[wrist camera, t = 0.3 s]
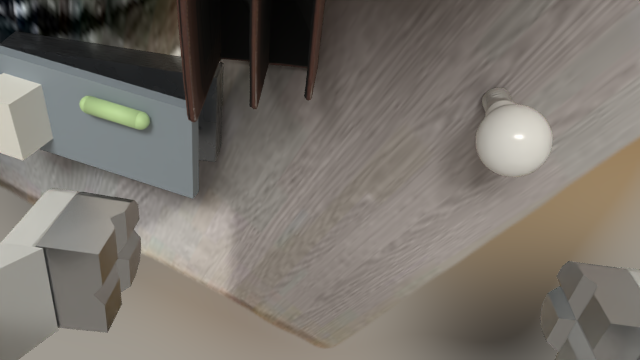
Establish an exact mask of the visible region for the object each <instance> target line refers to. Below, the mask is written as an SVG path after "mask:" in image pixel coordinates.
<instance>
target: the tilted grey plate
mask: <svg viewBox="0 0 640 360" xmlns="http://www.w3.org/2000/svg"><path fill="white" fill-rule="evenodd" d="M38 149H41V150H44V151H47V152H50V153H53V154H56V155H60V156H63V157H66V158H69V159H72V160H75V161H78V162H81V163H84V164H87V165H90V166H93V167H97V168H100V169H103V170H106V171H109V172H112V173H115V174H118V175H121V176H124V177H127V178H130V179H134V180H137V181H140V182H143V183H146V184H149V185H152V186H155V187H158V188H161V189H164V190H167V191H171V192H174V193H177V194H180V195H183V196H186V197H189V198H192V199H193V198H194V197H195V196H196V194H197V193H198V192H199V129H198V120H197V121H196V122H191V121H189V120H188V117H187V108H186V100H183V99H179V98H176V97H173V96H169V95H166V94H162V93H159V92H156V91H152V90H149V89H146V88H142V87H139V86H135V85H132V84H129V83H125V82H122V81H118V80H115V79H112V78H108V77H105V76H102V75H98V74H95V73H91V72H88V71H85V70H81V69H78V68H75V67H71V66H68V65H64V64H61V63H58V62H54V61H51V60H48V59H44V58H41V57H37V56H34V55H31V54H27V53H24V52H21V51H17V50H14V49H10V48H7V47H4V46H0V153H2V154H5V155H8V156H11V157H14V158H17V159H20V160H23V161H24V160H25V159H26V158H28V157H29V156H30V155H32V154H33V153H34V152H36V151H37V150H38Z"/></svg>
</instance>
